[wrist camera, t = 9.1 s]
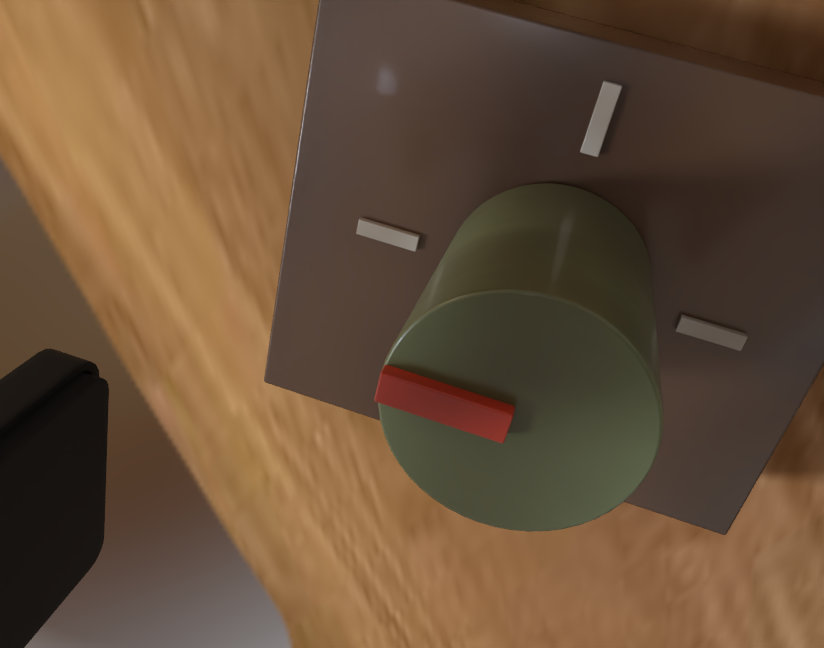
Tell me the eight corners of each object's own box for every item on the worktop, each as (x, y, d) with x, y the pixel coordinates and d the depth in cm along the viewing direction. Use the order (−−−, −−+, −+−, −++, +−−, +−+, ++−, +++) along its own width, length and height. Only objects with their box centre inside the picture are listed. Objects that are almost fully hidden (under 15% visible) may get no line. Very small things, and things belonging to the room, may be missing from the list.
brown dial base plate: (912, 105, 16) (962, 134, 13) (715, 474, 21) (727, 541, 18) (361, -40, 17) (320, -36, 15) (298, 338, 22) (260, 385, 20)
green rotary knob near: (685, 217, 15) (714, 355, 10) (610, 395, 17) (605, 580, 12) (473, 156, 16) (403, 259, 11) (426, 336, 18) (349, 492, 13)
